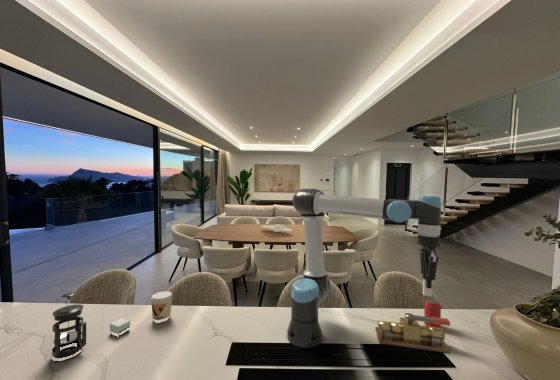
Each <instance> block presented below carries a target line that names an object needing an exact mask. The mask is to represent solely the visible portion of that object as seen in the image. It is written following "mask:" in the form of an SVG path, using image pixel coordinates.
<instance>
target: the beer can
mask: <svg viewBox="0 0 560 380" xmlns="http://www.w3.org/2000/svg"><path fill="white" fill-rule="evenodd" d="M423 308H424V312H423V314H424V317H438V318H442V317H441V316H442V307H441V303H440V301H439V300H437V299H435V298H430V297H429V298H426V299H425V301H424V307H423ZM423 324H424V326H429V327H437V328H442V327H441V326H442V325H440V324H433V323H431V322H424V321H423Z"/></svg>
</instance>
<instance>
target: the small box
mask: <svg viewBox="0 0 560 380" xmlns="http://www.w3.org/2000/svg"><path fill="white" fill-rule="evenodd" d="M129 327H130V328H131V320H129V319H128V318H124V317H121V318H119V319H117V320H115V321H113V322H111V323H109V332H110V331H111V332H114V333H117V334H119V333H121V332H122V331H124V330H126V329H127V328H129Z"/></svg>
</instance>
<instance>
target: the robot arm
mask: <svg viewBox="0 0 560 380" xmlns="http://www.w3.org/2000/svg"><path fill="white" fill-rule="evenodd" d="M441 203H442V200H441V197H439V196H438V195H419V196H418V198H417V199H415V200H411V199H395V198H394V199H382V198H368V197H357V196H345V195H334V194H332V195H331V194H330V195H329V194H325V193H324V192H323V191H322V190H319V189H317V188H301V189H298V190H297V191H296V192H295V193H294V195H293V197H292V206H293V208H294V209H295V211H296V212H297V213H300V217H301V218H302V219H303V223H304V224H303V227H304V244H305V245H304V248H305V269H304V270H303V275H302V277H303V278H301V279H297V280H295V281H294V282H293V284H291V291H290V295H291V296H290V300H291V309H290V310H291V312H290V313H291V314H290V321H289V325H288V328H287V330H286V338H287V341H288V342H289V343H291V344H292V345H293V346H295V347H297V348H303V349H305V348H306V349H310V348H314V347H317V346H318V345H320V344H321V343H322V342H323V331H322V328H321V326H320V322H319V306H320V304H321V303H322V302H323V301H324V300H325V299H326V298H327V297H328V295H329V294H330V292H331V287H332V284H331V280H330V278H329V276H328V271H327V270H326V269H325V264H324V263H325V262H324V261H325V260H324V244H323V243H324V240H323V218H324V217H325V214H334V215H342V216H349V217H350V216H352V217H360V218H368V219H369V218H370V219H378V220H386V221H392V222H395V223H404V222H406V221H408V220H409V219H411V220H412V219H413V220H418V221H417V234H418V235H417V244H418V245H420V246H421V248H420V249H419V250H418V251H419V255H420V257H419V258H420V259H419V260H420V273H421V275H422V295H423V296H424V297H425V296H426V297H432V296H433V281H436V275H437V269H438V268H437V267H438V261H439V257H438V256H436V255H437V251H436V248H438V247H440V246H441V237H440V235H441V230H443V229H442V227H441V218H442V216H441V215H442V204H441Z"/></svg>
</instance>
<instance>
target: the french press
mask: <svg viewBox="0 0 560 380" xmlns="http://www.w3.org/2000/svg"><path fill="white" fill-rule="evenodd" d="M76 294H77V293H76V292H68V293H64V294H62V295H61V298H66V300H67V305H66V306H63V307H59V308H58V309H56V310H54V311H53V312H52V316H53V320H54V321H57V322H55V323H54V324H52V332H53V333H54V339H53V341H52V342H53V344H54V346H53V347H52V349H51V357H52V356H53V357H55V358H63V357H67V356H70V355H73V354H75V353H76V352H78V351H79V350H81V349H82V347H85V346H86V345H87V322H86V321H84V318H83V317H82V316H80V315H82V313H83V309H84V305H83V304H71V305H70V299H71V297H73V296H75V295H76ZM71 321H75V322H74V325H71V326H70V322H71ZM66 322H67V327H64V328H60V325H61V324H64V323H66ZM61 333H62V334H61ZM72 343H77V347H72V348H70V349H69V350H66V351H65V350H64V351H61V352H60V347H63V346H66V345H69V344H72Z"/></svg>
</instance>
